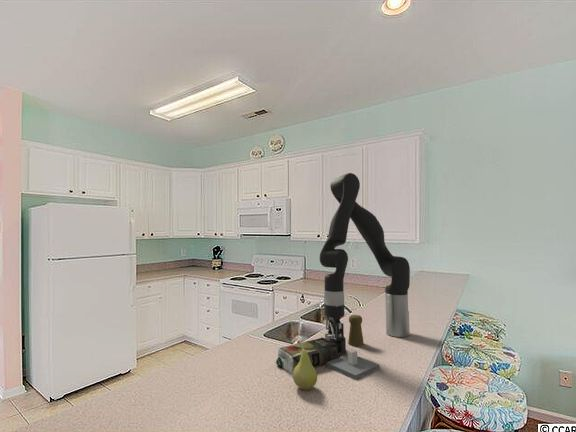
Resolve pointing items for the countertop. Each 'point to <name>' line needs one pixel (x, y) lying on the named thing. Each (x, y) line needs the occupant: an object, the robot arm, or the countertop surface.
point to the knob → (331, 338)
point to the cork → (355, 331)
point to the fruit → (304, 372)
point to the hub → (352, 365)
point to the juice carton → (316, 350)
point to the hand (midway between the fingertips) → (334, 347)
